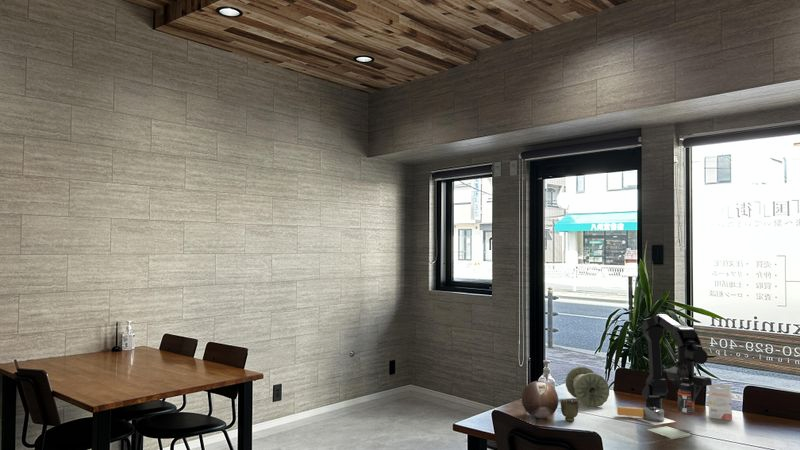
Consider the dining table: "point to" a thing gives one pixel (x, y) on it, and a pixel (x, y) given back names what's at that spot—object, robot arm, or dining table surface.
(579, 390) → the spool
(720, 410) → the ink cartridge box
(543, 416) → the wooden sphere
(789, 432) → the dining table surface
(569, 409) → the cup
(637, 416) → the dial plate
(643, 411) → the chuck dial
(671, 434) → the green pad
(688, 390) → the supplement bottle
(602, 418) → the dining table surface
